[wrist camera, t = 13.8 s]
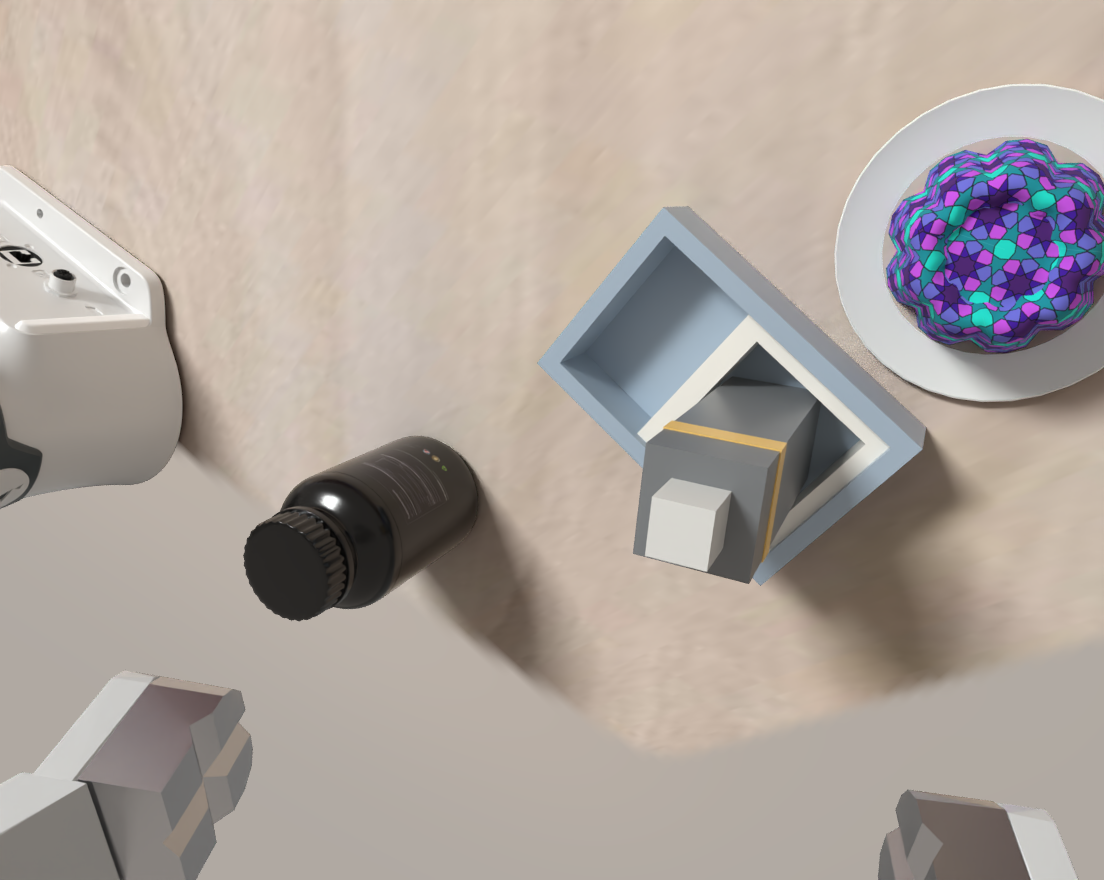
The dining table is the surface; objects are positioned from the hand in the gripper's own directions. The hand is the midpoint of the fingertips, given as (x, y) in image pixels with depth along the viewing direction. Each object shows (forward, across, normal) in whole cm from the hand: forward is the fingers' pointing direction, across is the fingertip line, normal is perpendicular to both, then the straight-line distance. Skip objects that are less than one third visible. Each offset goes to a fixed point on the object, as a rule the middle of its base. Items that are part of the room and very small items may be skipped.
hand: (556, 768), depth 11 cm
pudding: (+28, -14, +1) cm, 31 cm away
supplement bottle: (+32, +11, +18) cm, 38 cm away
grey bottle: (+28, -6, +10) cm, 30 cm away
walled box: (+29, -4, +8) cm, 31 cm away
